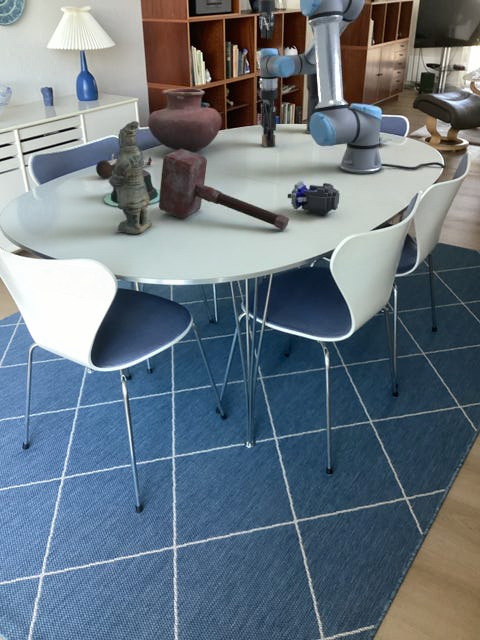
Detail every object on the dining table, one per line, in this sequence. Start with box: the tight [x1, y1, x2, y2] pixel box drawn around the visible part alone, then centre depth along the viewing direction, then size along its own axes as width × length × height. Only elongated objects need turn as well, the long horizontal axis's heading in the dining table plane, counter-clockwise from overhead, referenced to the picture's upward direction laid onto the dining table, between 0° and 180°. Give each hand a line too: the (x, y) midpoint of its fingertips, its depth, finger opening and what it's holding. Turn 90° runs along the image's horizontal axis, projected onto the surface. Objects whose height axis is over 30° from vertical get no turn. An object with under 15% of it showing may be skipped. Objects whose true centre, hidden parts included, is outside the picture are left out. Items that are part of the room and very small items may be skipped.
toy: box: [287, 180, 341, 216], centre depth 168 cm, size 9×9×15 cm
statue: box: [108, 120, 153, 235], centre depth 154 cm, size 11×9×30 cm
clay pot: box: [147, 87, 223, 153], centre depth 235 cm, size 30×30×25 cm
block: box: [261, 133, 276, 148], centre depth 246 cm, size 5×4×5 cm
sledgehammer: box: [158, 149, 290, 231], centre depth 163 cm, size 17×10×40 cm
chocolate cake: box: [103, 168, 160, 207], centre depth 186 cm, size 15×19×20 cm
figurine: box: [95, 153, 153, 179], centre depth 214 cm, size 13×8×25 cm
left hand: (266, 38), depth 270 cm, fingers open, 8 cm apart
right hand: (268, 145), depth 247 cm, fingers closed on block, 4 cm apart
